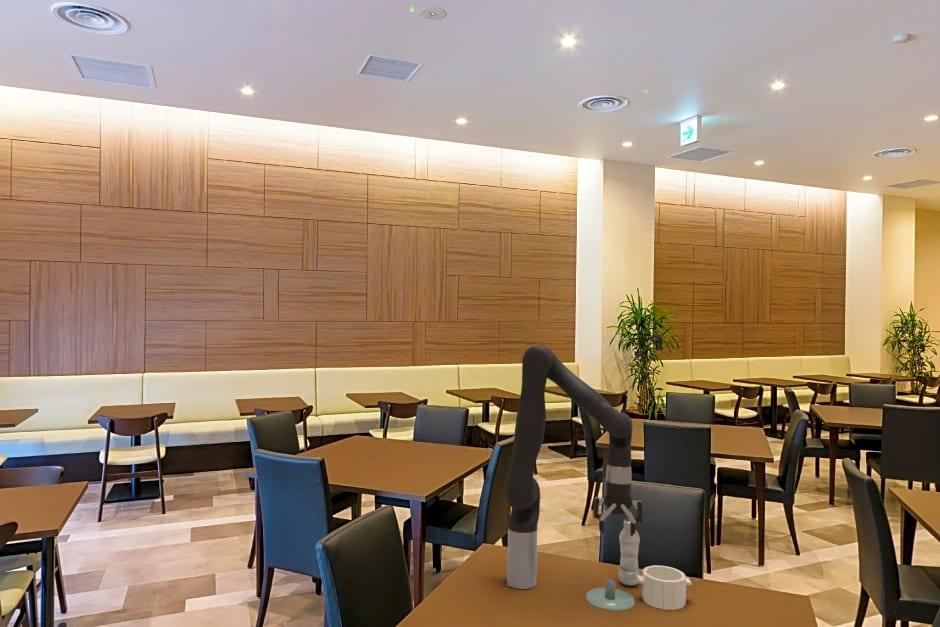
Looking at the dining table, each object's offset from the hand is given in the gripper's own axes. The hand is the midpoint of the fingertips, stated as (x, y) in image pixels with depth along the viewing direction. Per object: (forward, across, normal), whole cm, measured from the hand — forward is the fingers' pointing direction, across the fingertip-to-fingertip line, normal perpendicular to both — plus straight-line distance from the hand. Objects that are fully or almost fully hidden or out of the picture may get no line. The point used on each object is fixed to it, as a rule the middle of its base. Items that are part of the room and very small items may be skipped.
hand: (617, 533), depth 184 cm
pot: (+19, +14, 0) cm, 24 cm away
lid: (+19, -2, -2) cm, 20 cm away
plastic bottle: (+19, +5, +11) cm, 23 cm away
